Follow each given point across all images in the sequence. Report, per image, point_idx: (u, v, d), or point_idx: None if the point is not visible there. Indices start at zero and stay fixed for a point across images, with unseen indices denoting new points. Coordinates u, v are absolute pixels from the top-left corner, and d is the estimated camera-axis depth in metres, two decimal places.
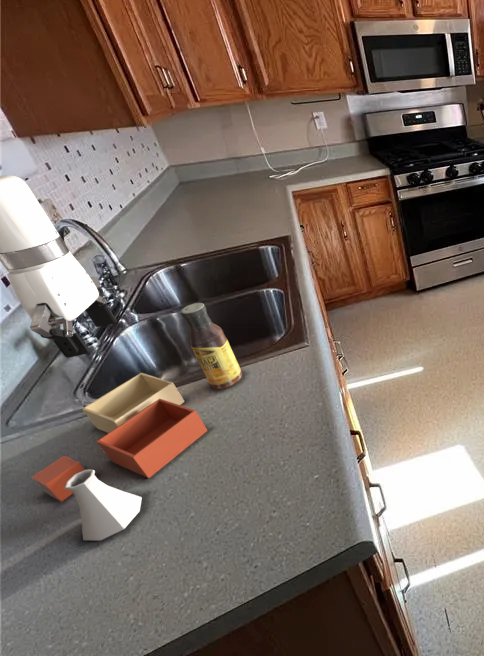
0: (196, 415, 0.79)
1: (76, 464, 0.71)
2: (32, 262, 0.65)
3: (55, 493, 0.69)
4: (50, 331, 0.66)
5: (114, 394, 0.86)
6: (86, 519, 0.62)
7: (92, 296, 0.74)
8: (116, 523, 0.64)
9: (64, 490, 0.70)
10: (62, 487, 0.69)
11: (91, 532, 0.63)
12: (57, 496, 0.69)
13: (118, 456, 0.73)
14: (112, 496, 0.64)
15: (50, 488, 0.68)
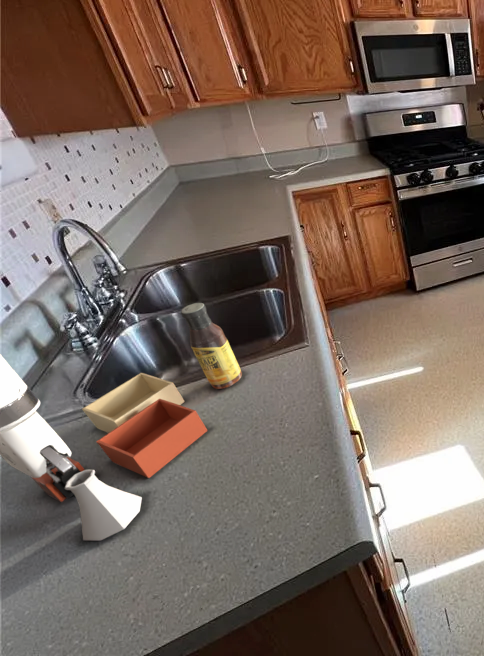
0: (196, 415, 0.79)
1: (76, 464, 0.71)
2: (25, 410, 0.63)
3: (55, 493, 0.69)
4: None
5: (114, 394, 0.86)
6: (86, 519, 0.62)
7: None
8: (116, 523, 0.64)
9: None
10: None
11: (91, 532, 0.63)
12: (57, 496, 0.69)
13: (118, 456, 0.73)
14: (112, 496, 0.64)
15: (50, 488, 0.68)
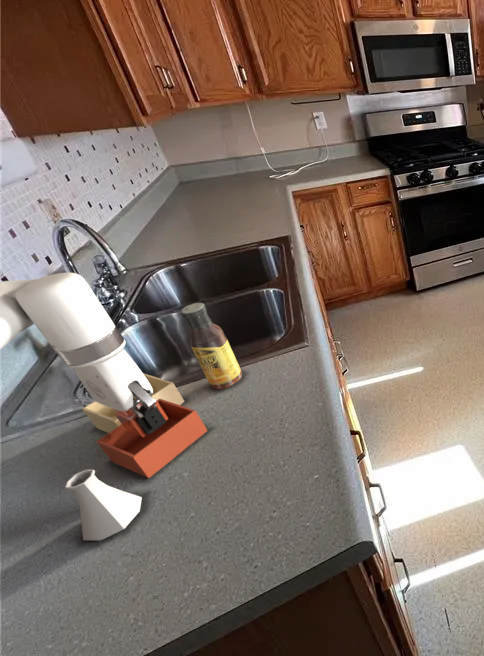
0: (196, 415, 0.79)
1: None
2: (115, 345, 0.67)
3: (137, 429, 0.73)
4: None
5: None
6: (86, 519, 0.62)
7: None
8: (116, 523, 0.64)
9: None
10: None
11: (91, 532, 0.63)
12: (139, 432, 0.73)
13: (118, 456, 0.73)
14: (112, 496, 0.64)
15: (133, 423, 0.72)
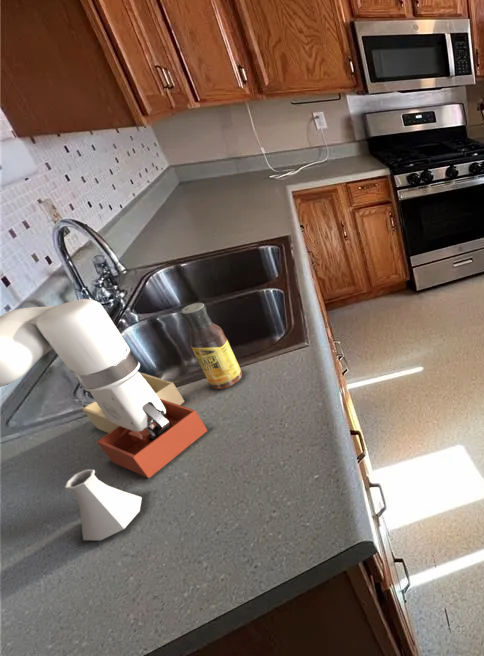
0: (196, 415, 0.79)
1: None
2: (130, 368, 0.70)
3: None
4: None
5: None
6: (86, 519, 0.62)
7: None
8: (116, 523, 0.64)
9: None
10: None
11: (91, 532, 0.63)
12: None
13: (118, 456, 0.73)
14: (112, 496, 0.64)
15: (147, 443, 0.74)
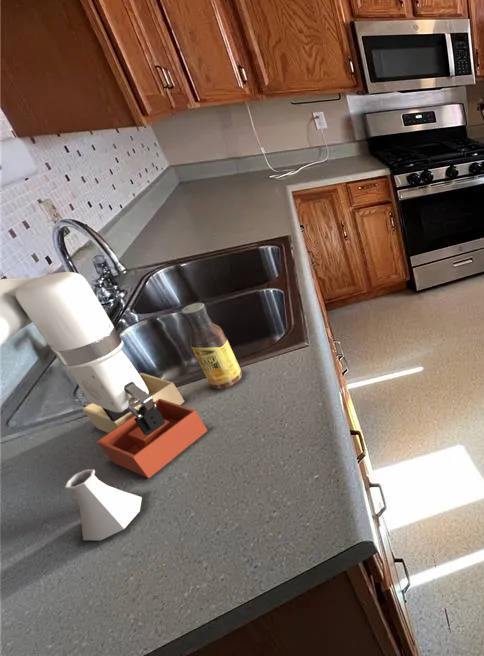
0: (196, 415, 0.79)
1: (167, 423, 0.77)
2: (112, 346, 0.67)
3: None
4: None
5: None
6: (86, 519, 0.62)
7: None
8: (116, 523, 0.64)
9: None
10: None
11: (91, 532, 0.63)
12: None
13: (118, 456, 0.73)
14: (112, 496, 0.64)
15: (146, 443, 0.74)
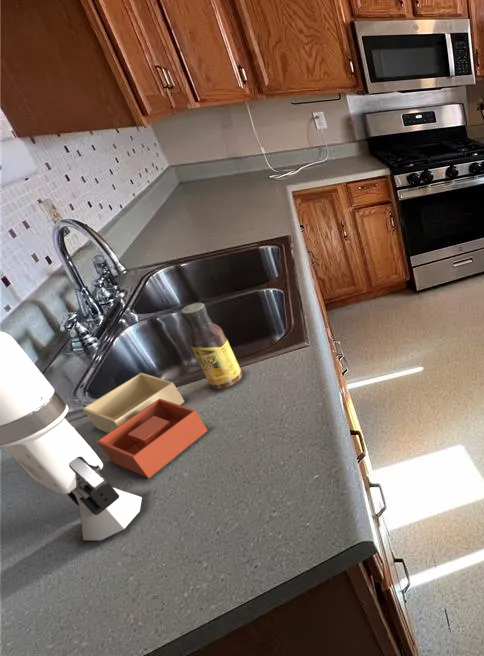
0: (196, 415, 0.79)
1: (167, 423, 0.77)
2: (52, 416, 0.55)
3: None
4: None
5: (114, 394, 0.86)
6: (86, 519, 0.62)
7: None
8: (116, 523, 0.64)
9: None
10: None
11: (92, 532, 0.63)
12: None
13: (118, 456, 0.73)
14: None
15: (146, 443, 0.74)
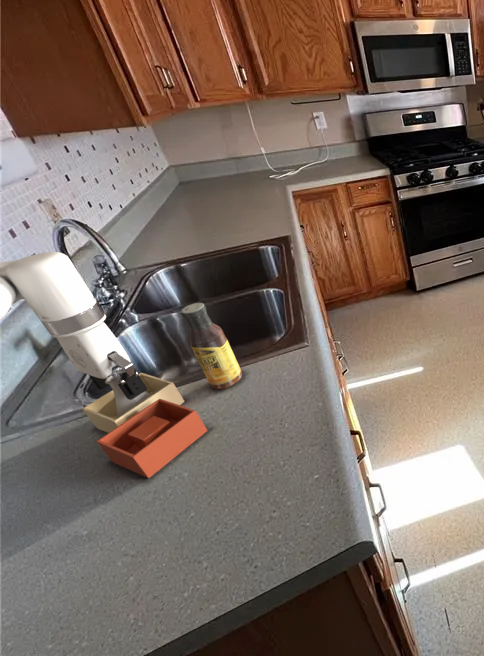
0: (196, 415, 0.79)
1: (167, 423, 0.77)
2: (95, 318, 0.75)
3: None
4: None
5: None
6: (120, 408, 0.82)
7: None
8: None
9: None
10: None
11: None
12: None
13: (118, 456, 0.73)
14: None
15: (146, 443, 0.74)
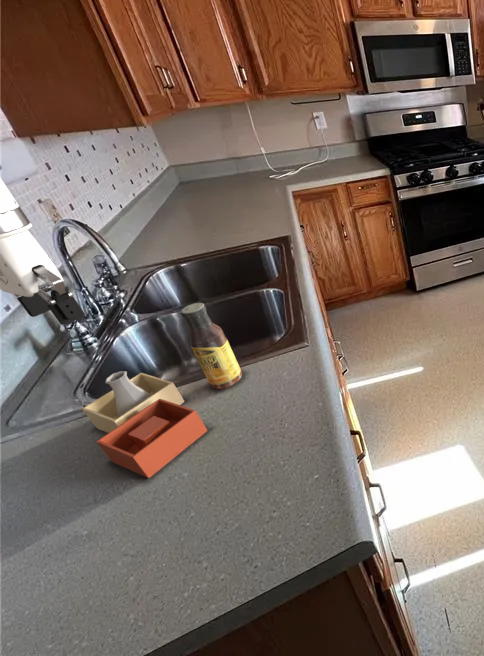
0: (196, 415, 0.79)
1: (167, 423, 0.77)
2: (16, 224, 0.64)
3: None
4: None
5: None
6: (120, 408, 0.82)
7: None
8: None
9: None
10: None
11: None
12: None
13: (118, 456, 0.73)
14: (139, 393, 0.84)
15: (146, 443, 0.74)
